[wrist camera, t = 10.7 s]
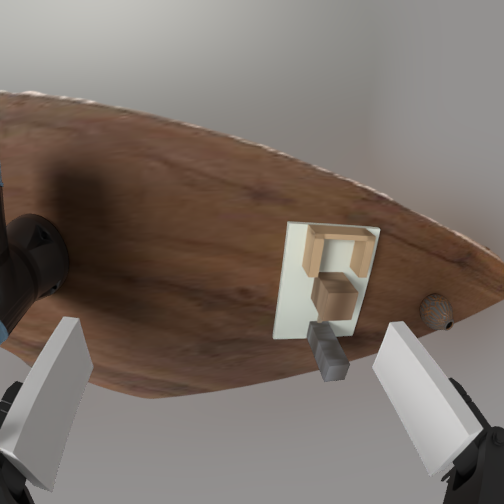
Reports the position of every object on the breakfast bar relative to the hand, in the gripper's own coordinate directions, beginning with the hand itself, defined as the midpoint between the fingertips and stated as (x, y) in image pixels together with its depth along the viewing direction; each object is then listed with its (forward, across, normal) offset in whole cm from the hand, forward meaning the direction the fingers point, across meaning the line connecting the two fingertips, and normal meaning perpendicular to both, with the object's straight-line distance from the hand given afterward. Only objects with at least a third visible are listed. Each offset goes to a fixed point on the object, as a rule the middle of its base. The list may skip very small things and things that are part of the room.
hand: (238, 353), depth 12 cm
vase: (+35, +44, -21) cm, 60 cm away
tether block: (+34, +18, -20) cm, 43 cm away
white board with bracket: (+35, +18, -16) cm, 42 cm away
